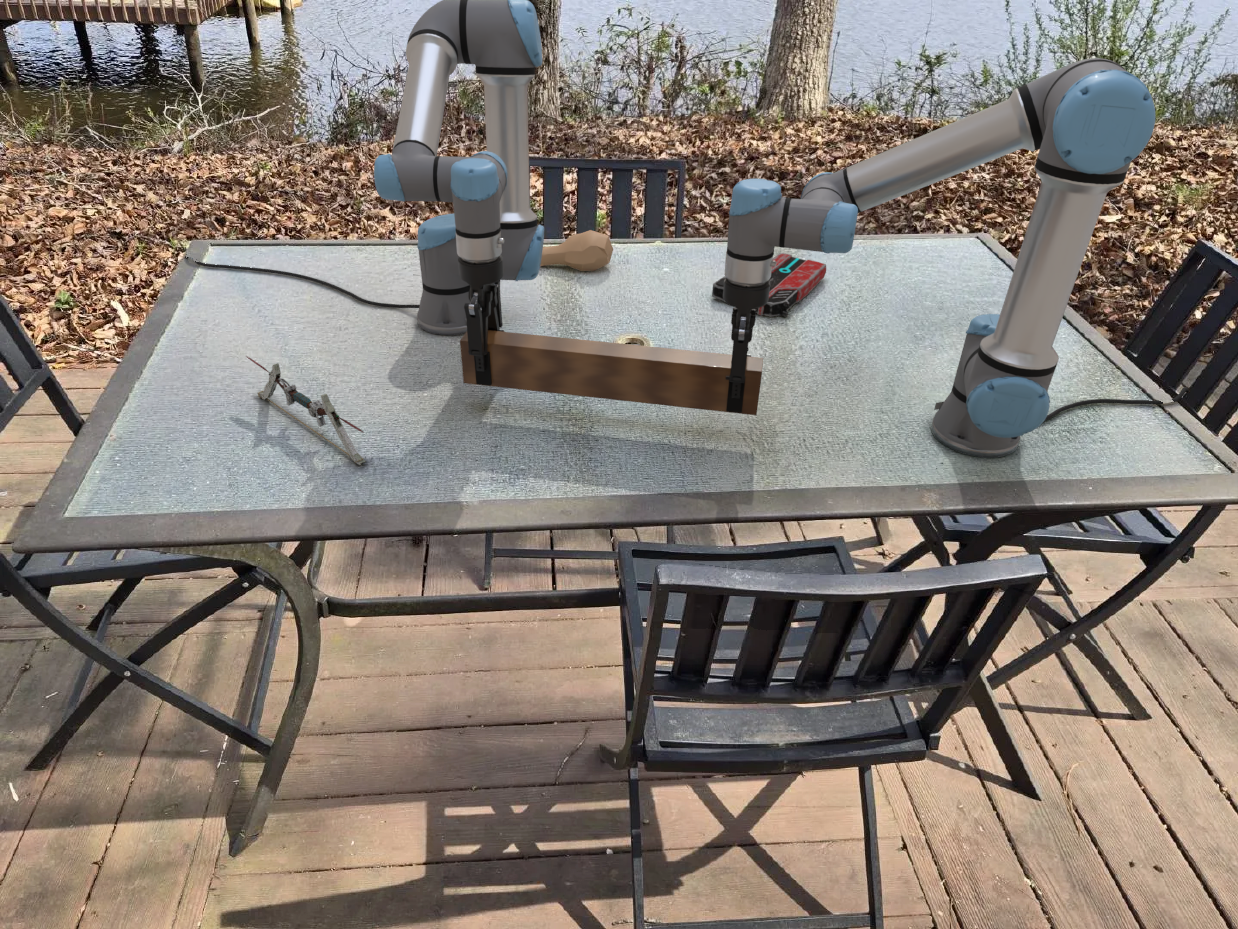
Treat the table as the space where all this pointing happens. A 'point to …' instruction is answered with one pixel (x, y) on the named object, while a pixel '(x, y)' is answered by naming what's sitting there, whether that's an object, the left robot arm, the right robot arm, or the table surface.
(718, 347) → the table surface
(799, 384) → the table surface
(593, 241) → the squash
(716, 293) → the gun
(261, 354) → the table surface
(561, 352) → the beam
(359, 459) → the bow
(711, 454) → the table surface
